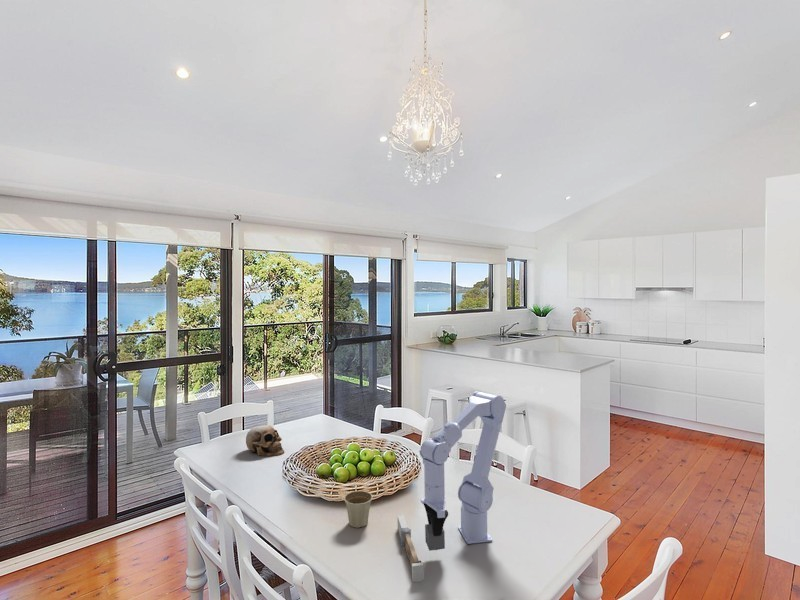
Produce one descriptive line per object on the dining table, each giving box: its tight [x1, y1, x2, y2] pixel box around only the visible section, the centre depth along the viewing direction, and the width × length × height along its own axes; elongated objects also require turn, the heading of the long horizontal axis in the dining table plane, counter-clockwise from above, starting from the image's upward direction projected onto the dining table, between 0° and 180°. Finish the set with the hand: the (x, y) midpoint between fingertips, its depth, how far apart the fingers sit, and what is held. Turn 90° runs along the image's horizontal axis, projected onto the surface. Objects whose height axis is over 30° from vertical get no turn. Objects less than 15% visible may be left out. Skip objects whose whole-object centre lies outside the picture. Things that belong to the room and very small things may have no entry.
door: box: [404, 534, 422, 568], centre depth 121 cm, size 14×2×4 cm, turn 10°
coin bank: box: [245, 424, 285, 457], centre depth 208 cm, size 16×17×13 cm
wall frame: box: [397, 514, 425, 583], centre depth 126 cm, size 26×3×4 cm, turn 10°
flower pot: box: [343, 490, 374, 528], centre depth 142 cm, size 9×9×9 cm
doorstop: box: [424, 523, 446, 551], centre depth 123 cm, size 4×4×5 cm
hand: (435, 530), depth 123 cm, fingers closed on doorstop, 4 cm apart
